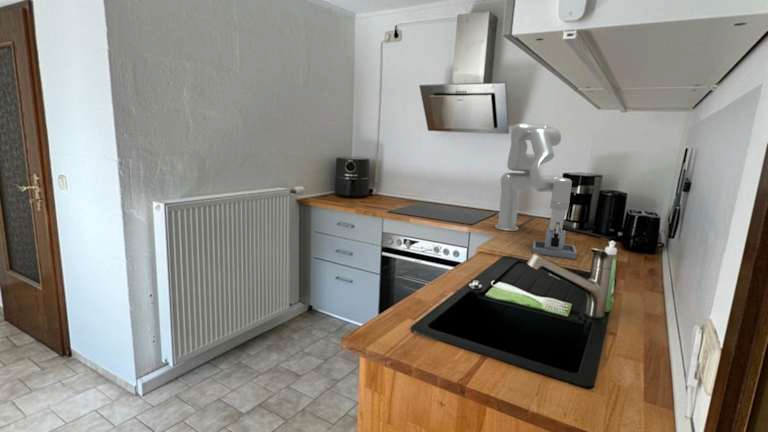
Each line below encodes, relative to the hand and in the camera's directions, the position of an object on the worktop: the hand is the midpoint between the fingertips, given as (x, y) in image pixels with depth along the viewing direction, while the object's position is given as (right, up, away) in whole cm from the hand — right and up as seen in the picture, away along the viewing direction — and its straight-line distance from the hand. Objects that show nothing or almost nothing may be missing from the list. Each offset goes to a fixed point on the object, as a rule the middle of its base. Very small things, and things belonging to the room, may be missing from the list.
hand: (554, 244), depth 187 cm
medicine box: (0, -2, 0) cm, 2 cm away
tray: (0, -4, +1) cm, 4 cm away
